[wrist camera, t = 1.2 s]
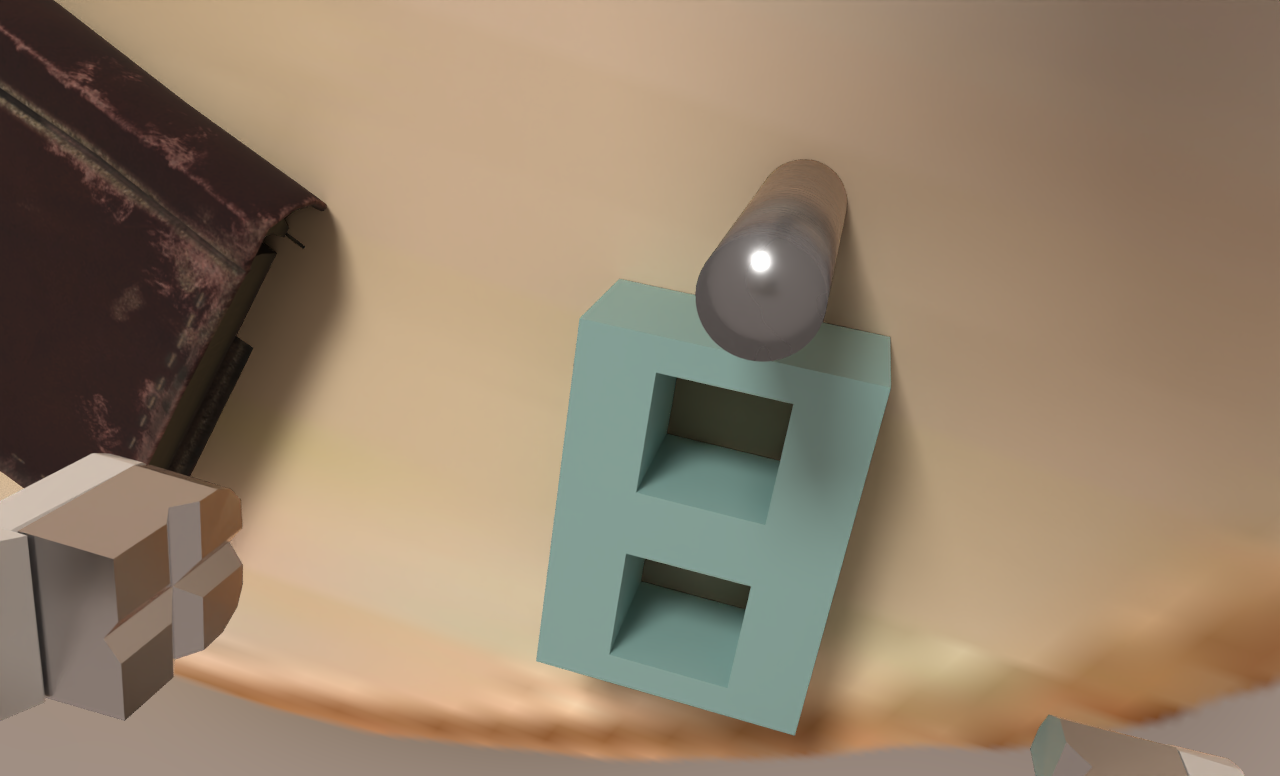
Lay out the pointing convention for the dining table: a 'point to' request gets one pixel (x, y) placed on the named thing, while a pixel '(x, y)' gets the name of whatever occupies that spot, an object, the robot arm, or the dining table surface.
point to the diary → (119, 253)
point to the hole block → (704, 509)
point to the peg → (775, 265)
